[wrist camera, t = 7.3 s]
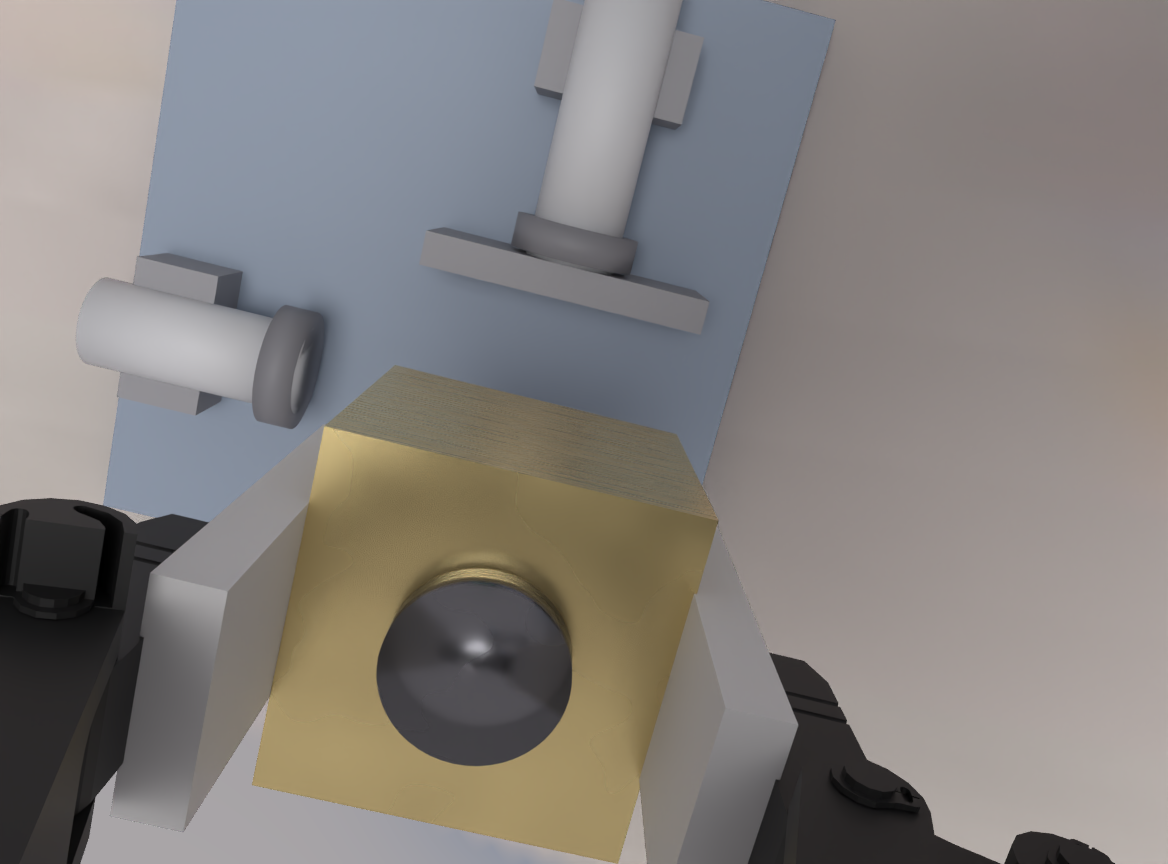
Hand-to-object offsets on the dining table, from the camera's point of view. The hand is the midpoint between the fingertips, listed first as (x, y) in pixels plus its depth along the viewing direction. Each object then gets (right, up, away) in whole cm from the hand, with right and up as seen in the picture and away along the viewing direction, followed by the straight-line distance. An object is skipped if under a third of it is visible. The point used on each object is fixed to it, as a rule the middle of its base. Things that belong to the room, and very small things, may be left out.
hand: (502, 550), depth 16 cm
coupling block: (0, 0, +1) cm, 1 cm away
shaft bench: (-2, +6, +11) cm, 13 cm away
